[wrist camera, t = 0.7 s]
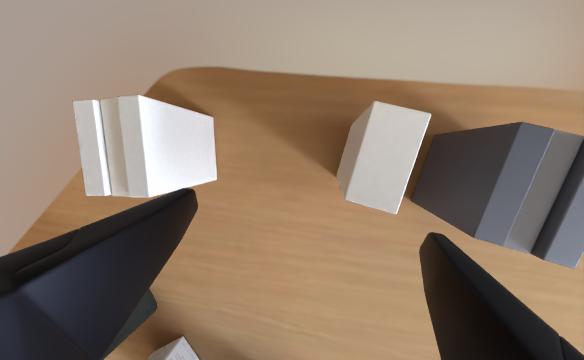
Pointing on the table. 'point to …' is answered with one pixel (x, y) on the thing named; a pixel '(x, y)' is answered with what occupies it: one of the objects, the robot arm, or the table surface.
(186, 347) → the small box
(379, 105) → the white tall block
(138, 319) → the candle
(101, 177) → the white books
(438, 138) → the grey books
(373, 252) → the table surface
